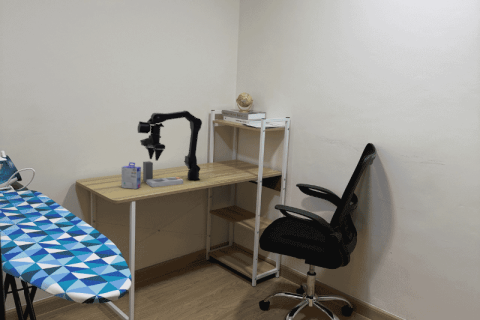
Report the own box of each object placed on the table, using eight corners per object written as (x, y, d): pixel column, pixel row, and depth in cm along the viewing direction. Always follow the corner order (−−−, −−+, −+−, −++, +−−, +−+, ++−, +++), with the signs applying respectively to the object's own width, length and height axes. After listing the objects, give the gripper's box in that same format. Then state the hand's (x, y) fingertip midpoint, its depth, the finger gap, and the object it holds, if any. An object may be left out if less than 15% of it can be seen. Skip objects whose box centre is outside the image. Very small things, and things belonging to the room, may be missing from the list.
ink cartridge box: (141, 187, 242) (141, 162, 239) (137, 189, 237) (137, 164, 234) (125, 185, 244) (125, 161, 241) (121, 187, 238) (120, 163, 236)
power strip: (176, 180, 261) (176, 175, 260) (183, 183, 254) (183, 178, 253) (146, 183, 250) (146, 178, 249) (152, 187, 243) (152, 182, 242)
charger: (149, 180, 259) (150, 160, 257) (152, 181, 255) (152, 162, 253) (143, 180, 257) (143, 161, 254) (145, 182, 253) (145, 162, 251)
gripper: (136, 132, 252) (135, 158, 253) (148, 134, 236) (146, 161, 237) (154, 133, 258) (152, 158, 259) (166, 135, 243) (164, 161, 244)
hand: (153, 159), depth 250 cm, fingers open, 9 cm apart
